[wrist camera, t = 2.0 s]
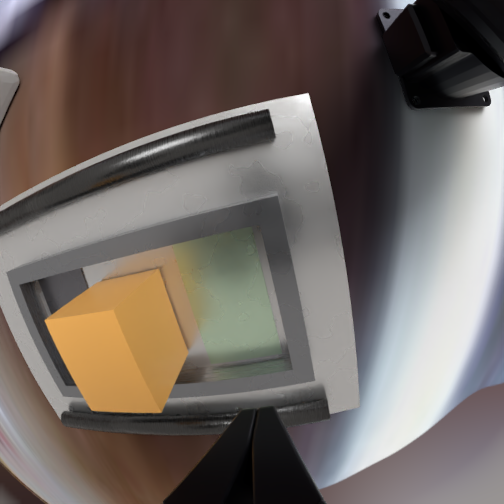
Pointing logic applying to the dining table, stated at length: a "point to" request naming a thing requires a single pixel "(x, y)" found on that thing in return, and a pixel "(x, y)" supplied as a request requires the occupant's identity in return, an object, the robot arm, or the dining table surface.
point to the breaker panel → (197, 267)
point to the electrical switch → (7, 89)
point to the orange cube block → (121, 343)
